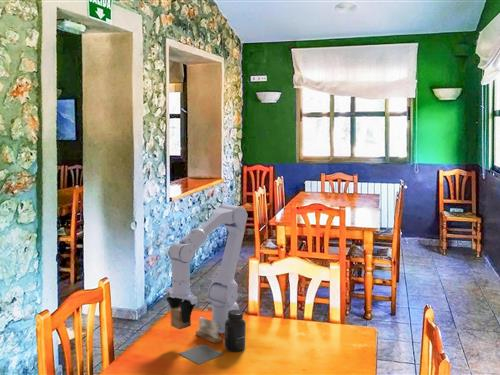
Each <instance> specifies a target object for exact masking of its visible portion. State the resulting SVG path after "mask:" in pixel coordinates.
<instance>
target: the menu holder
mask: <svg viewBox="0 0 500 375" xmlns="http://www.w3.org/2000/svg"><path fill="white" fill-rule="evenodd" d="M198 320H199V321H198V322H199V323H198V330H196V331H195V335H196V336H198V337H199V338H202V339H205V340H207V341H209V342H211V343H213V344H217V343H219V342H222V341H223V338H222V336H220V335H219V332H218V324H217V323H215V322H212V320H210V319H207V318H205V317H203V316H200V317H198Z"/></svg>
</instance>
